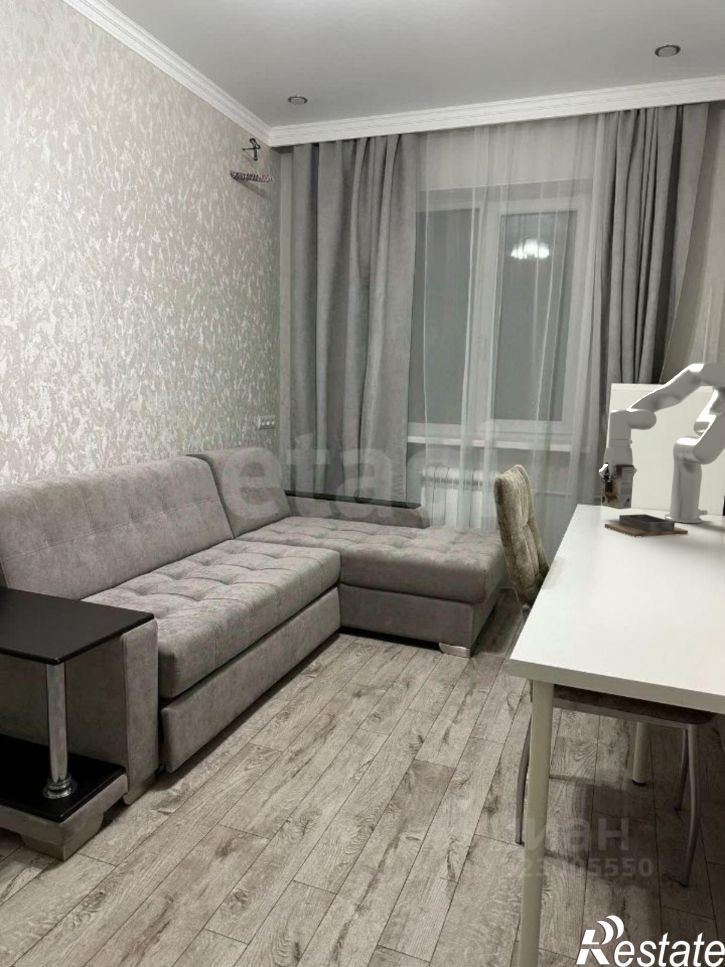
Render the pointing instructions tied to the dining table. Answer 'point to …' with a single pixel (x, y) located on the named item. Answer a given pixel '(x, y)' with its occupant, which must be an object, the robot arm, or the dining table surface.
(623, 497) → the coffee box
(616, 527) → the slot board
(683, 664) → the dining table surface
